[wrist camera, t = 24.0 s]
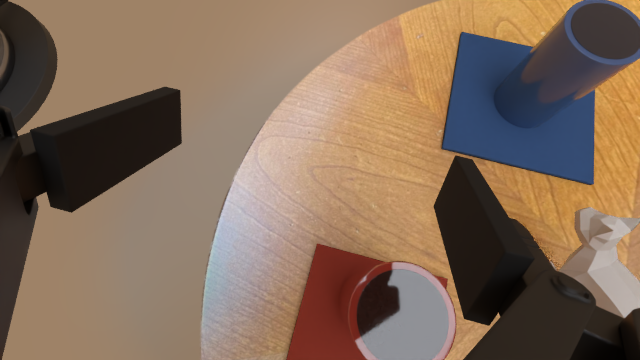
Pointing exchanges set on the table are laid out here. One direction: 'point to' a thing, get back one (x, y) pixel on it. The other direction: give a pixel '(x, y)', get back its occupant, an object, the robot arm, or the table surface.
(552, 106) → the blue tumbler
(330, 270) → the red mat
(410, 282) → the red tumbler
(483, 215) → the robot arm
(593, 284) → the cat figurine
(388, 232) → the table surface
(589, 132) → the blue mat
